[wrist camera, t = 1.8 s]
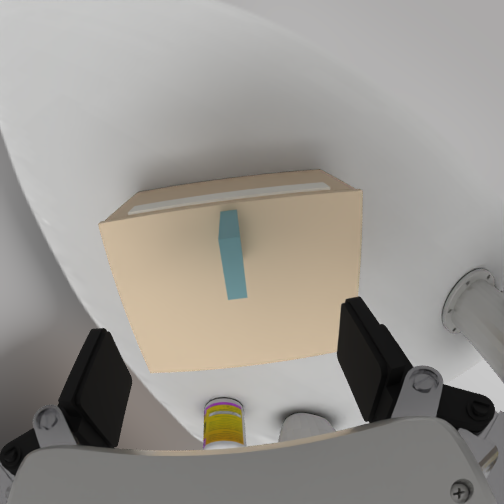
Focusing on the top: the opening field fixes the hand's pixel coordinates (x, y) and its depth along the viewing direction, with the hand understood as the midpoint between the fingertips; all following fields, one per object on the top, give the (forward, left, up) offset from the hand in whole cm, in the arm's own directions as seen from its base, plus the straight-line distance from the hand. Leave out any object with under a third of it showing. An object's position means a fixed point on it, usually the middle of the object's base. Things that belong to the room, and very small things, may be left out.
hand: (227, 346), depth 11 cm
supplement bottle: (+6, +35, -23) cm, 42 cm away
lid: (0, +6, -13) cm, 14 cm away
